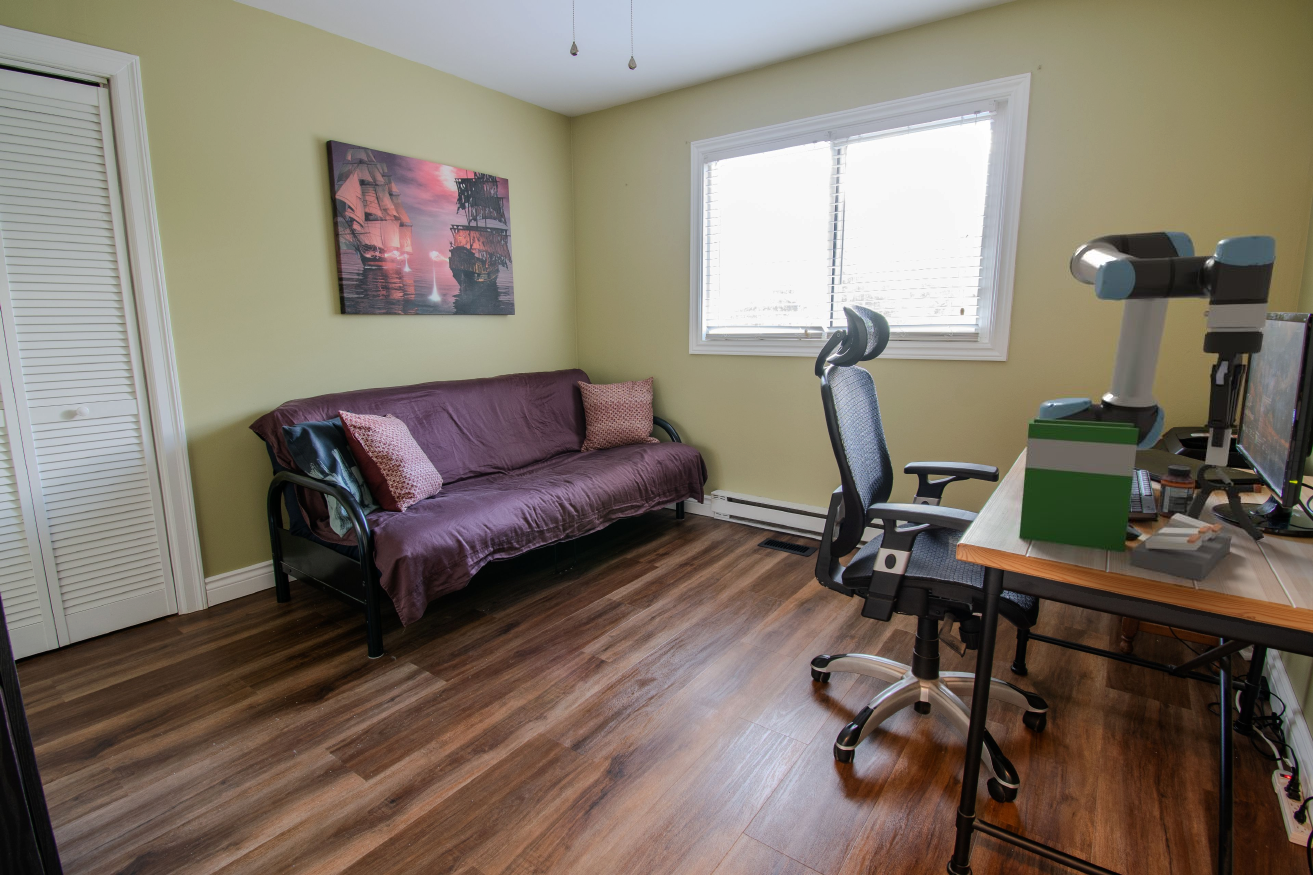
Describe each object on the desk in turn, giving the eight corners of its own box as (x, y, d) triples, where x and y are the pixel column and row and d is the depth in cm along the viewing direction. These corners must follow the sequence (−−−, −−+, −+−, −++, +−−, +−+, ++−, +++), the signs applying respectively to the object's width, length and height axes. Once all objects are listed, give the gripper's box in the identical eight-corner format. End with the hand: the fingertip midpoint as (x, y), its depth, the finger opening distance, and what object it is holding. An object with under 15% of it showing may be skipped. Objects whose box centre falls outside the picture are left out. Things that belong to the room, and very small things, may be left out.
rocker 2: (1175, 518, 127) (1178, 510, 127) (1218, 533, 122) (1222, 525, 122) (1168, 522, 124) (1172, 515, 124) (1213, 538, 119) (1217, 530, 119)
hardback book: (1120, 540, 129) (1133, 423, 125) (1124, 552, 123) (1138, 429, 119) (1020, 528, 138) (1029, 418, 134) (1019, 538, 132) (1029, 423, 127)
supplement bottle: (1159, 510, 149) (1165, 463, 147) (1192, 515, 145) (1198, 466, 143) (1155, 516, 145) (1160, 467, 143) (1188, 521, 140) (1195, 471, 138)
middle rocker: (1164, 533, 123) (1163, 525, 123) (1212, 535, 117) (1210, 526, 117) (1158, 538, 120) (1157, 529, 120) (1206, 540, 114) (1205, 531, 114)
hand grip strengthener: (1263, 543, 126) (1275, 469, 123) (1181, 531, 134) (1190, 462, 131) (1262, 540, 128) (1273, 467, 125) (1181, 529, 135) (1190, 460, 133)
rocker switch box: (1171, 533, 133) (1173, 519, 132) (1235, 545, 125) (1237, 530, 125) (1130, 564, 116) (1132, 549, 116) (1200, 581, 109) (1203, 564, 108)
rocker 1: (1153, 542, 118) (1152, 533, 118) (1201, 544, 112) (1200, 534, 112) (1146, 547, 115) (1144, 538, 115) (1195, 550, 110) (1194, 540, 110)
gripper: (1214, 330, 117) (1198, 456, 121) (1196, 331, 109) (1179, 466, 112) (1270, 329, 111) (1251, 462, 115) (1256, 330, 103) (1236, 473, 107)
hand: (1215, 464), depth 114 cm, fingers closed
